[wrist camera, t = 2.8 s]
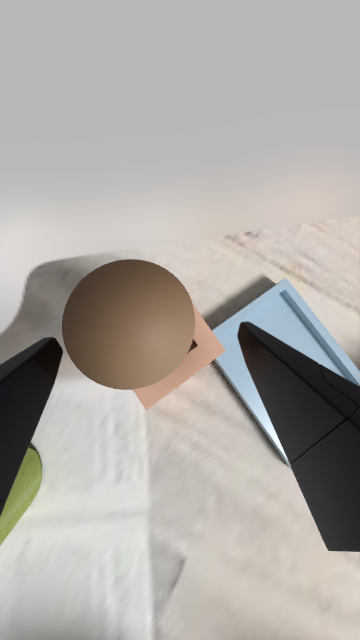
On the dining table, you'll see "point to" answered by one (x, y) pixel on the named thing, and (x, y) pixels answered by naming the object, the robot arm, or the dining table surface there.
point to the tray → (288, 326)
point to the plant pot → (21, 492)
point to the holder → (185, 363)
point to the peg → (128, 324)
